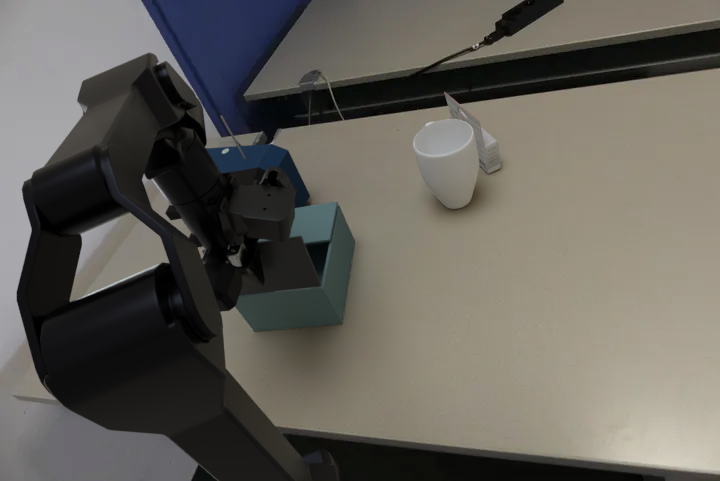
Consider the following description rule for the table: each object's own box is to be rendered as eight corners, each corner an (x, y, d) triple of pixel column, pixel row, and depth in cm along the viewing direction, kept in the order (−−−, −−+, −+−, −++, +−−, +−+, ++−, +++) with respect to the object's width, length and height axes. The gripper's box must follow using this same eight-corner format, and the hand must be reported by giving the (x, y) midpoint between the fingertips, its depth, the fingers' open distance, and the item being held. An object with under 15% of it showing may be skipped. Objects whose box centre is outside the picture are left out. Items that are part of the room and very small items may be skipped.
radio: (316, 196, 88) (267, 93, 75) (297, 234, 83) (240, 130, 70) (216, 197, 97) (156, 106, 84) (193, 232, 92) (125, 140, 78)
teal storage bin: (342, 324, 68) (320, 284, 62) (254, 331, 72) (226, 295, 66) (355, 240, 78) (337, 200, 73) (277, 251, 82) (254, 213, 76)
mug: (494, 205, 75) (484, 140, 67) (439, 226, 75) (422, 164, 67) (464, 160, 83) (451, 98, 76) (415, 179, 84) (397, 120, 76)
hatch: (321, 284, 63) (320, 286, 62) (227, 294, 66) (226, 296, 66) (301, 235, 59) (300, 237, 59) (203, 249, 62) (201, 251, 62)
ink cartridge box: (467, 135, 88) (457, 84, 81) (502, 168, 79) (494, 114, 73) (453, 142, 88) (443, 91, 81) (487, 175, 79) (478, 121, 73)
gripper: (242, 245, 42) (311, 348, 53) (288, 113, 55) (335, 218, 66) (128, 261, 45) (214, 355, 56) (195, 133, 58) (255, 230, 69)
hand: (260, 283), depth 61 cm, fingers closed
